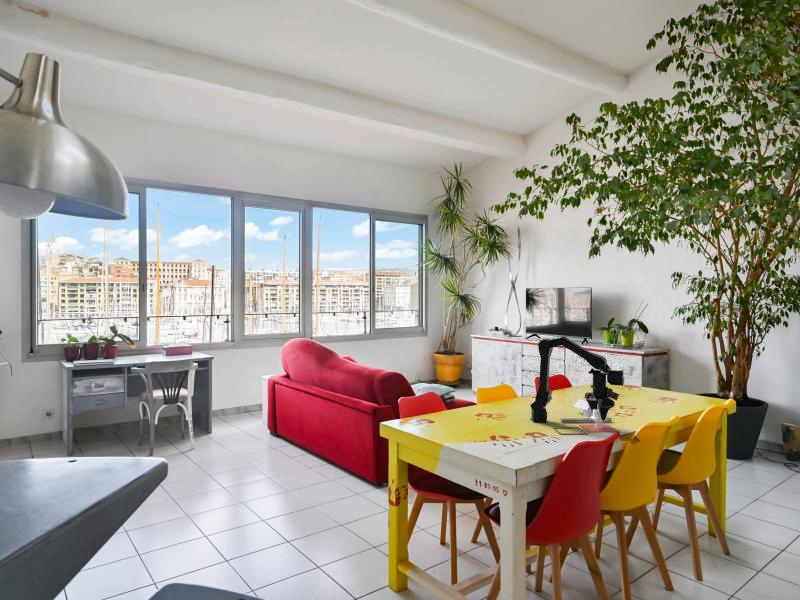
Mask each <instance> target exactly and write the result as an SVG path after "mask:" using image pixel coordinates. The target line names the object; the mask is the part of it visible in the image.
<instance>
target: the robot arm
mask: <svg viewBox="0 0 800 600" xmlns="http://www.w3.org/2000/svg"><path fill="white" fill-rule="evenodd" d="M560 346H561V347H564V348H566V349H567V350H569V351H571V353H574V354H576V355H577V356H579V357H581V358H582V359H584V360H585V361H586V362H587V363H588V364H589V365H590V366H591V367H592V368H591V369H590V370H589V371H588V372H587V373H588V374H590V375H592V385H590V388H591V389H592V392H585V393H584V399H585V401H587V403H588V405H589V407H590V409H591V411H592V413H593V410H594V409H597V407H598V409H599V412H600V415H601V418H602V421H605V419H606V418H607V415H608V413H609V411H610V409H613V408H614V407H615V403H616V402H615V401H618V399H619V396H620V394H619V393H618V392H615V391H613V388H611V387H610V388H609V387H608V386H607V383H608V384H609V385H610V386H619V387H621V386H622V387H624V385H625V377H624V370H620V369H619V370H617V369H616V370H613V369H612V368H611V367H610V366H609V364H608V362H607V358H606V357H605V356H603V355H600V354H598V353H595V352H592V351H589V350H588V349H587V348H584V347H582V346H581V345H580V344H578V343H576V342H574V341H573V340H571V339H569V338H568V337H567V336H561V337H556V338H553V339H551V338H544V339H543V338H542V339H541V340H540V341H538V344H537V348H538V353H539V357H540V363H539V364H540V365H539V381H538V389H537V392H536V395H535V401H533V402H532V403H531V404H530V409H531V417H530V421H532V422H533V423H548V411H547V408H546V407H547V405H548V404H550V402H551V400H552V399H553V397H552V395H553V390H550V388H549V380H550V363H551V361H550V360H551V356H552V353H553V351H554V350H553V349H554V348H556V347H560Z"/></svg>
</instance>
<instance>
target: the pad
mask: <svg viewBox="0 0 800 600" xmlns="http://www.w3.org/2000/svg"><path fill="white" fill-rule="evenodd" d="M602 425H603V426H602V429H597V428H595V424H578V427H579V428H581V429H582V430H584V431H587V433H620V432H621V430H618V429H617V428H615V427H614V426H612V425H610V424H607V423H605V424H602Z"/></svg>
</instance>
